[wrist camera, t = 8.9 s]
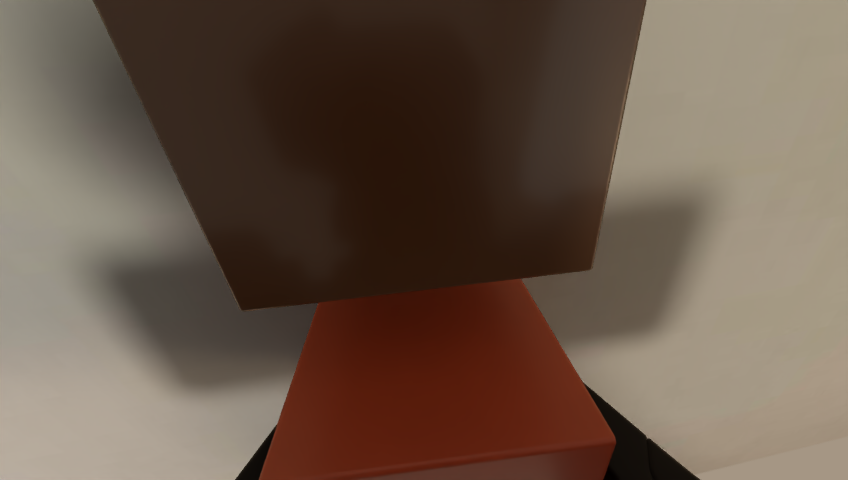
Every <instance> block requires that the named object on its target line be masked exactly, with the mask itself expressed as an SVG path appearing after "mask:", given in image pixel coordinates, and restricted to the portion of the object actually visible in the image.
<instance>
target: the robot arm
mask: <svg viewBox="0 0 848 480" xmlns="http://www.w3.org/2000/svg"><path fill="white" fill-rule="evenodd" d="M583 384H584V383H583ZM584 385H585V387H586V389H587V390H588V392H589V394H590V395H591V397H592V399H593V400H594V402H595V404H596V406H597V407H598V409H599V411H600V412H601V414H602V416H603V417H604V419H605V421H606V422H607V424H608V426H609V427H610V429H611V431H612V432H613V434H614V436H615V439H616V445H615V448H614V451H613V454H612V457H611V459H610V462H609V465H608V468H607V471H606V473H605V476H604V479H603V480H700V479H699V478H697V477H696V476H695V475H693V474H692V473H691V472H690V471H688V470H687V469H686V468H685V467H683V466H682V465H681V464H680V463H678V462H677V461H676V460H675V459H674V458H672V457H671V456H670V455H669V454H667V453H666V452H665V451H664V450H663V449H661V448H660V447H659V446H658V445H657V444H656V443H654V442H653V441H652V440H651V439H649V438H648V439H647V437H646V435H645V434H643V433H642V432H641V431H640V430H639V429H638V428H636V427H635V426H634V425H633V424H632V423H630V422H629V421H628V420H627V419H626V418H625V417H623V416H622V415H621V414H620V413H619V412H617V411H616V410H615V409H614V408H613V407H612V406H610V405H609V404H608V403H607V402H606V401H604V400H603V399H602V398H601V397H600V396H599V395H597V394H596V393H595V392H594V391H593V390H591V389H590V388H589V387H588V386H587V385H586V384H584ZM276 427H277V425H276V426H275V428H274V429H273V430H272V432H271V433H270V434H269V436H268V437H267V438H266V439H265V441H264V442H263V443H262V445H261V446H260V447H259V449H258V450H257V451H256V453H255V454H254V455H253V457H252V458H251V459H250V461H249V462H248V463H247V465H246V466H245V467H244V469H243V470H242V471H241V473H240V474H239V475H238V477H237V478H236V479H235V480H259V477H260V475H261V472H262V469H263V466H264V463H265V460H266V457H267V454H268V451H269V448H270V445H271V442H272V439H273V436H274V433H275V430H276Z"/></svg>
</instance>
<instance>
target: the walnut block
mask: <svg viewBox="0 0 848 480" xmlns="http://www.w3.org/2000/svg"><path fill="white" fill-rule="evenodd" d="M93 2H94V4H95V6H96V8H97V11H98V13H99V15H100V17H101V19H102V21H103V23H104V25H105V27H106V29H107V32H108V34H109V36H110V38H111V40H112V42H113V44H114V46H115V48H116V50H117V53H118V55H119V57H120V59H121V61H122V63H123V65H124V67H125V69H126V71H127V74H128V76H129V78H130V80H131V82H132V84H133V86H134V88H135V90H136V92H137V95H138V97H139V99H140V101H141V103H142V105H143V107H144V109H145V111H146V114H147V116H148V118H149V120H150V122H151V124H152V126H153V128H154V130H155V132H156V135H157V137H158V139H159V141H160V143H161V145H162V147H163V149H164V151H165V153H166V156H167V158H168V160H169V162H170V164H171V166H172V168H173V170H174V172H175V174H176V177H177V179H178V181H179V183H180V185H181V187H182V189H183V191H184V193H185V196H186V198H187V200H188V202H189V204H190V206H191V208H192V210H193V212H194V214H195V217H196V219H197V221H198V223H199V225H200V227H201V229H202V231H203V233H204V235H205V238H206V240H207V242H208V244H209V246H210V248H211V250H212V252H213V254H214V256H215V259H216V261H217V263H218V265H219V267H220V269H221V271H222V273H223V275H224V278H225V280H226V282H227V284H228V286H229V288H230V290H231V292H232V294H233V296H234V299H235V301H236V303H237V305H238V307H239V309H240V310H241V311H252V310H261V309H269V308H277V307H286V306H294V305H303V304H311V303H320V302H328V301H336V300H345V299H353V298H362V297H370V296H378V295H387V294H395V293H404V292H412V291H420V290H429V289H437V288H446V287H454V286H462V285H471V284H479V283H488V282H496V281H504V280H513V279H521V278H530V277H538V276H546V275H555V274H563V273H572V272H580V271H588V270H591V269H592V268H593V263H594V258H595V253H596V248H597V243H598V238H599V233H600V228H601V223H602V218H603V213H604V208H605V203H606V198H607V193H608V188H609V183H610V179H611V174H612V169H613V164H614V159H615V154H616V149H617V144H618V139H619V134H620V129H621V124H622V119H623V114H624V109H625V104H626V99H627V94H628V89H629V84H630V79H631V75H632V70H633V65H634V60H635V55H636V50H637V45H638V40H639V35H640V30H641V25H642V20H643V15H644V10H645V5H646V0H93Z"/></svg>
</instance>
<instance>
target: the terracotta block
mask: <svg viewBox="0 0 848 480" xmlns="http://www.w3.org/2000/svg"><path fill="white" fill-rule="evenodd" d="M615 445H616V439H615V436H614V434H613V432H612V431H611V429H610V427H609V426H608V424H607V422H606V421H605V419H604V417H603V416H602V414H601V412H600V411H599V409H598V407H597V406H596V404H595V402H594V400H593V399H592V397H591V395H590V394H589V392H588V390H587V389H586V387H585V385H584V384H583V382H582V380H581V379H580V377H579V375H578V374H577V372H576V370H575V369H574V367H573V365H572V364H571V362H570V360H569V359H568V357H567V355H566V354H565V352H564V350H563V349H562V347H561V345H560V344H559V342H558V340H557V339H556V337H555V335H554V333H553V332H552V330H551V328H550V327H549V325H548V323H547V322H546V320H545V318H544V317H543V315H542V313H541V312H540V310H539V308H538V307H537V305H536V303H535V302H534V300H533V298H532V297H531V295H530V293H529V292H528V290H527V288H526V287H525V285H524V283H523V282H522V280H521V279H513V280H504V281H496V282H488V283H479V284H471V285H462V286H454V287H446V288H437V289H429V290H420V291H412V292H404V293H395V294H387V295H378V296H370V297H362V298H353V299H345V300H336V301H328V302H320V303H318V305H317V308H316V311H315V314H314V317H313V320H312V323H311V326H310V329H309V332H308V335H307V338H306V341H305V343H304V346H303V349H302V352H301V355H300V358H299V361H298V364H297V367H296V370H295V373H294V376H293V379H292V382H291V385H290V388H289V391H288V394H287V397H286V400H285V403H284V406H283V409H282V412H281V415H280V418H279V421H278V424H277V427H276V430H275V433H274V436H273V439H272V442H271V445H270V448H269V451H268V454H267V457H266V460H265V463H264V466H263V469H262V472H261V475H260V477H259V480H603V479H604V476H605V473H606V471H607V468H608V465H609V462H610V459H611V457H612V454H613V451H614V448H615Z"/></svg>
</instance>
